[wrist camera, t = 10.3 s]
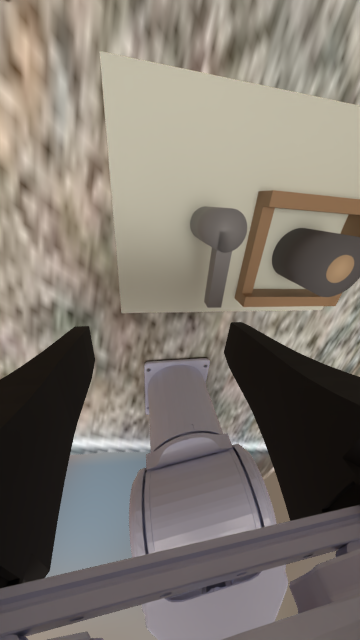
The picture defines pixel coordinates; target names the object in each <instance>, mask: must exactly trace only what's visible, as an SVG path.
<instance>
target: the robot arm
mask: <svg viewBox="0 0 360 640" xmlns="http://www.w3.org/2000/svg"><path fill="white" fill-rule="evenodd" d="M224 354H225V357H226V360H227V363H228V365H229V368H230V370H231V372H232V374H233V376H234V378H235V379H236V381H237V383H238V385H239V387H240V389H241V391H242V392H243V394H244V396H245V398H246V400H247V402H248V404H249V406H250V408H251V410H252V412H253V414H254V417H255V419H256V421H257V424H258V426H259V429H260V431H261V434H262V436H263V439H264V442H265V444H266V447H267V450H268V452H269V455H270V458H271V461H272V464H273V467H274V470H275V472H276V475H277V478H278V482H279V485H280V488H281V491H282V494H283V498H284V501H285V504H286V507H287V511H288V514H289V518H290V521H288V522H284V523H279V524H276V519H275V514H274V510H273V507H272V503H271V500H270V497H269V494H268V491H267V488H266V486H265V483H264V481H263V478H262V476H261V474H260V471H259V469H258V467H257V465H256V463H255V461H254V459H253V458H252V456H251V455H250V453H249V452H248V451H247V450H245V449H244V448H243V447H242V446H240V445H239V444H235V445H232V444H231V442H230V439H229V436H228V434H223V432H222V429H221V426H220V423H219V421H218V418H217V415H216V412H215V409H214V407H213V404H212V401H211V398H210V395H209V393H208V390H207V387H206V380H207V375H208V369H209V364H210V361H209V359H208V358H200V359H184V360H167V361H150V362H146V363H145V364H144V374H145V413H146V414H147V415H149V422H150V446H151V453H148V454H146V468H143V469H140V470H139V472H138V474H137V476H136V478H135V480H134V482H133V484H132V489H131V495H130V507H129V528H130V530H129V531H130V544H131V552H132V558H129V559H125V560H121V561H116V562H112V563H108V564H103V565H99V566H95V567H90V568H86V569H82V570H78V571H73V572H69V573H65V574H61V575H56V576H52V577H47V578H45V577H46V575H47V574H48V572H49V571H50V565H51V559H52V552H53V546H54V540H55V533H56V527H57V521H58V515H59V509H60V503H61V498H62V492H63V487H64V481H65V476H66V471H67V466H68V461H69V456H70V452H71V447H72V442H73V438H74V433H75V430H76V426H77V422H78V419H79V416H80V413H81V410H82V407H83V404H84V401H85V398H86V395H87V392H88V388H89V385H90V382H91V379H92V374H93V369H94V363H95V357H94V351H93V346H92V340H91V335H90V329H89V326H82V327H74V328H73V329H71V330H70V331H69V332H67V333H66V334H65V335H63V336H62V337H61V338H60V339H58V340H57V341H56V342H55V343H53V344H52V345H51V346H49V347H48V348H47V349H45V350H44V351H43V352H41V353H40V354H39V355H37V356H36V357H34V358H33V359H31V360H30V361H29V362H27V363H26V364H24V365H23V366H21V367H20V368H18V369H17V370H15V371H14V372H12V373H11V374H9V375H7V376H6V377H4V378H2V379H1V380H0V640H28V639H27V638H26V636H29V635H33V634H36V633H40V632H43V631H47V630H51V629H54V628H58V627H61V626H65V625H69V624H73V623H76V622H80V621H83V620H87V619H90V618H94V617H98V616H101V615H104V614H109V613H112V612H116V611H120V610H123V609H127V608H130V607H134V606H138V605H141V606H142V611H143V613H144V614H145V620H146V627H147V629H148V630H149V632H150V633H151V634H152V635H154V637H156V638H157V639H158V640H360V377H358V376H355V375H352V374H349V373H346V372H344V371H341V370H338V369H335V368H333V367H330V366H328V365H325V364H323V363H320V362H318V361H316V360H313V359H311V358H309V357H306V356H304V355H302V354H300V353H298V352H296V351H294V350H292V349H290V348H288V347H286V346H284V345H282V344H280V343H279V342H277V341H275V340H273V339H271V338H270V337H268V336H266V335H264V334H263V333H261V332H259V331H257V330H256V329H254V328H252V327H250V326H248V325H246V324H244V323H242V322H232V323H231V324H230V329H229V333H228V337H227V341H226V346H225V350H224ZM204 365H205V366H204ZM148 368H150V369H148ZM333 551H336V558H333V559H331V560H329V561H326V562H323V563H320V564H318V565H316V566H315V567H314V568H313V569H312V570H311V571H309V572H308V573H306V574H305V575H303V576H301V577H299V578H297V579H295V580H293V581H291V582H290V586H289V587H290V589H291V592H292V595H293V597H294V599H295V602H296V605H297V608H298V614H297V615H294V616H291V617H287V618H284V619H281V620H278V621H275V619H276V617H277V614H278V612H279V609H280V607H281V604H282V601H283V599H284V596H285V593H286V590H287V587H288V579H287V575H286V572H285V569H286V564H290V563H293V562H296V561H300V560H304V559H307V558H311V557H315V556H318V555H322V554H326V553H329V552H333ZM48 640H103V638H90V636H89V634H88V632H82V633H78V634H73V635H68V636H63V637H58V638H53V639H48Z"/></svg>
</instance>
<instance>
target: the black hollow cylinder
mask: <svg viewBox="0 0 360 640" xmlns="http://www.w3.org/2000/svg"><path fill="white" fill-rule="evenodd" d="M272 266H273V268H274V270H275V272H276V273H277V274H279V275H281V276H283V277H284V278H286V279H288V280H290V281H292V282H294V283H296V284H298V285H299V286H301V287H303V288H305V289H307V290H309V291H311V292H313V293H315V294H316V295H318V296H321V297H332V296H336V295H338V294H340V293H342V292H344V291H346V290H347V289H348V288H350V287H351V286H352V285H353V284H354V283H355V282H356V281H357V280H358V279H359V277H360V237H356V236H350V235H344V234H338V233H332V232H326V231H320V230H314V229H307V228H297V229H294V230H292V231H290V232H288V233H287V234H285V235H284V236H283V237H282V238H281V239H280V241H279V242H278V243H277V245H276V247H275V249H274V251H273V255H272Z"/></svg>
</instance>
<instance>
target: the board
mask: <svg viewBox="0 0 360 640" xmlns="http://www.w3.org/2000/svg"><path fill="white" fill-rule="evenodd" d="M100 62H101V74H102V86H103V98H104V110H105V122H106V134H107V146H108V158H109V170H110V182H111V194H112V206H113V218H114V230H115V242H116V254H117V266H118V278H119V290H120V302H121V313H165V312H228V311H291V310H322V309H323V307H324V306H336V304H337V302H338V300H339V298H340V296H341V294H342V293H340V294H338V295H336V296H332V297H321V296H318V295H316V294H315V293H313V292H311V291H309V290H307V289H305V288H303V287H301V286H299V285H298V284H296V283H294V282H292V281H290V280H288V279H286V278H284V277H283V276H281V275H279V274H277V273H276V272H275V270H274V268H273V266H272V255H273V251H274V249H275V247H276V245H277V243H278V242H279V241H280V239H281V238H282V237H283V236H284V235H285V234H287V233H288V232H290V231H292V230H294V229H297V228H307V229H314V230H320V231H326V232H332V233H338V234H344V235H350V236H356V237H360V106H358V105H354V104H349V103H344V102H339V101H335V100H330V99H325V98H320V97H316V96H311V95H306V94H301V93H297V92H292V91H287V90H282V89H278V88H273V87H268V86H263V85H259V84H254V83H249V82H244V81H240V80H235V79H230V78H225V77H221V76H216V75H211V74H206V73H202V72H197V71H192V70H187V69H183V68H178V67H173V66H168V65H164V64H159V63H154V62H149V61H144V60H140V59H135V58H130V57H125V56H121V55H116V54H111V53H106V52H102V51H100Z"/></svg>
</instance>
